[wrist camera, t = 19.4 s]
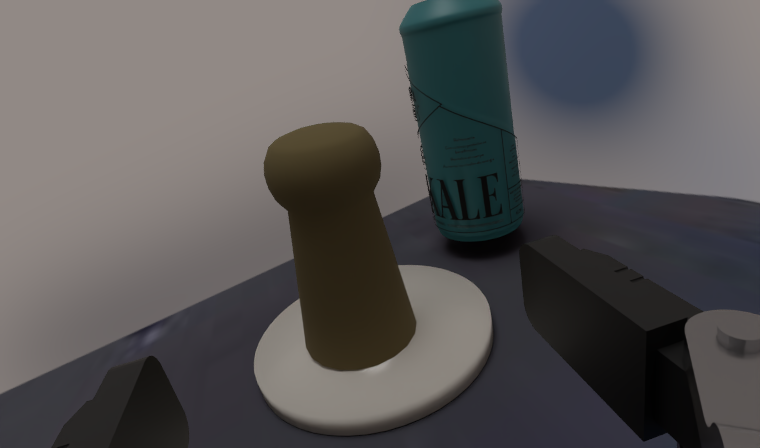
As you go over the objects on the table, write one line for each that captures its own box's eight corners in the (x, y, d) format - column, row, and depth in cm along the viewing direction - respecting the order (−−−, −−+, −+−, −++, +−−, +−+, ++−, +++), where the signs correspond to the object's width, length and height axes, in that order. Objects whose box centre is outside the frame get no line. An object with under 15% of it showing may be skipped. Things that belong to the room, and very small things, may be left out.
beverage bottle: (506, 215, 36) (471, -68, 29) (546, 248, 30) (514, -101, 23) (429, 236, 36) (373, -45, 29) (453, 273, 30) (390, -73, 22)
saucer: (254, 478, 18) (246, 460, 18) (263, 314, 30) (258, 302, 30) (543, 376, 20) (541, 358, 20) (443, 259, 32) (441, 246, 32)
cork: (297, 316, 26) (242, 132, 22) (394, 285, 27) (361, 104, 23) (316, 387, 21) (247, 161, 16) (435, 344, 22) (403, 124, 18)
